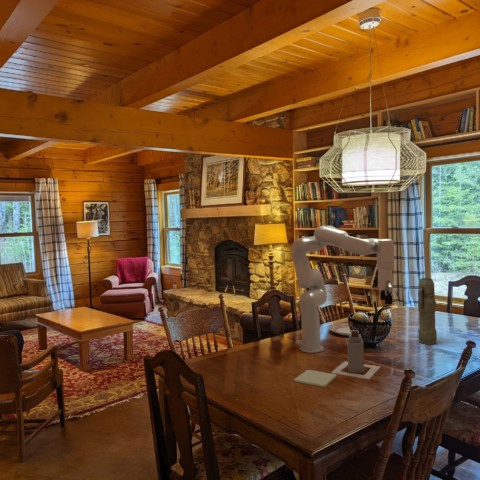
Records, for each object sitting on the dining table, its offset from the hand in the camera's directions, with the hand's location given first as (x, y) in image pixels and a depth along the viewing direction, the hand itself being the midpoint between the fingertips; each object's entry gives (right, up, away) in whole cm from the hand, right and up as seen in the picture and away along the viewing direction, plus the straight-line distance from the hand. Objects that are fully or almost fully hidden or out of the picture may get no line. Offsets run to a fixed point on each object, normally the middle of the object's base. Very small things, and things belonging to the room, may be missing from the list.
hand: (386, 301), depth 203 cm
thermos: (+33, -27, +32) cm, 53 cm away
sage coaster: (-35, -32, -13) cm, 49 cm away
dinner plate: (0, -27, +59) cm, 65 cm away
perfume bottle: (-15, -31, -5) cm, 35 cm away
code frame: (-15, -30, -5) cm, 34 cm away
